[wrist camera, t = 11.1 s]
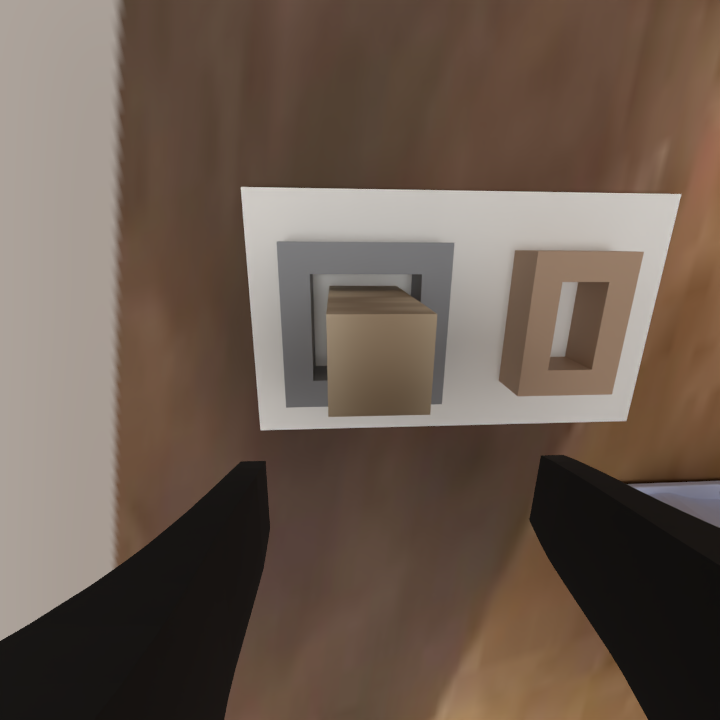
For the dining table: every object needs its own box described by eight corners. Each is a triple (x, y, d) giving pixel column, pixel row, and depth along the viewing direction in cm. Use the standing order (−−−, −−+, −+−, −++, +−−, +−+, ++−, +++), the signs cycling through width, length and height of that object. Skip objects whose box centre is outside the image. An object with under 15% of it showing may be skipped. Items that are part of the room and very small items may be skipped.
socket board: (662, 196, 17) (726, 187, 15) (612, 412, 21) (657, 440, 18) (246, 190, 16) (227, 179, 13) (264, 421, 19) (251, 451, 17)
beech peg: (396, 285, 17) (437, 314, 10) (394, 349, 18) (430, 414, 11) (329, 285, 17) (326, 314, 10) (330, 350, 18) (328, 417, 11)
